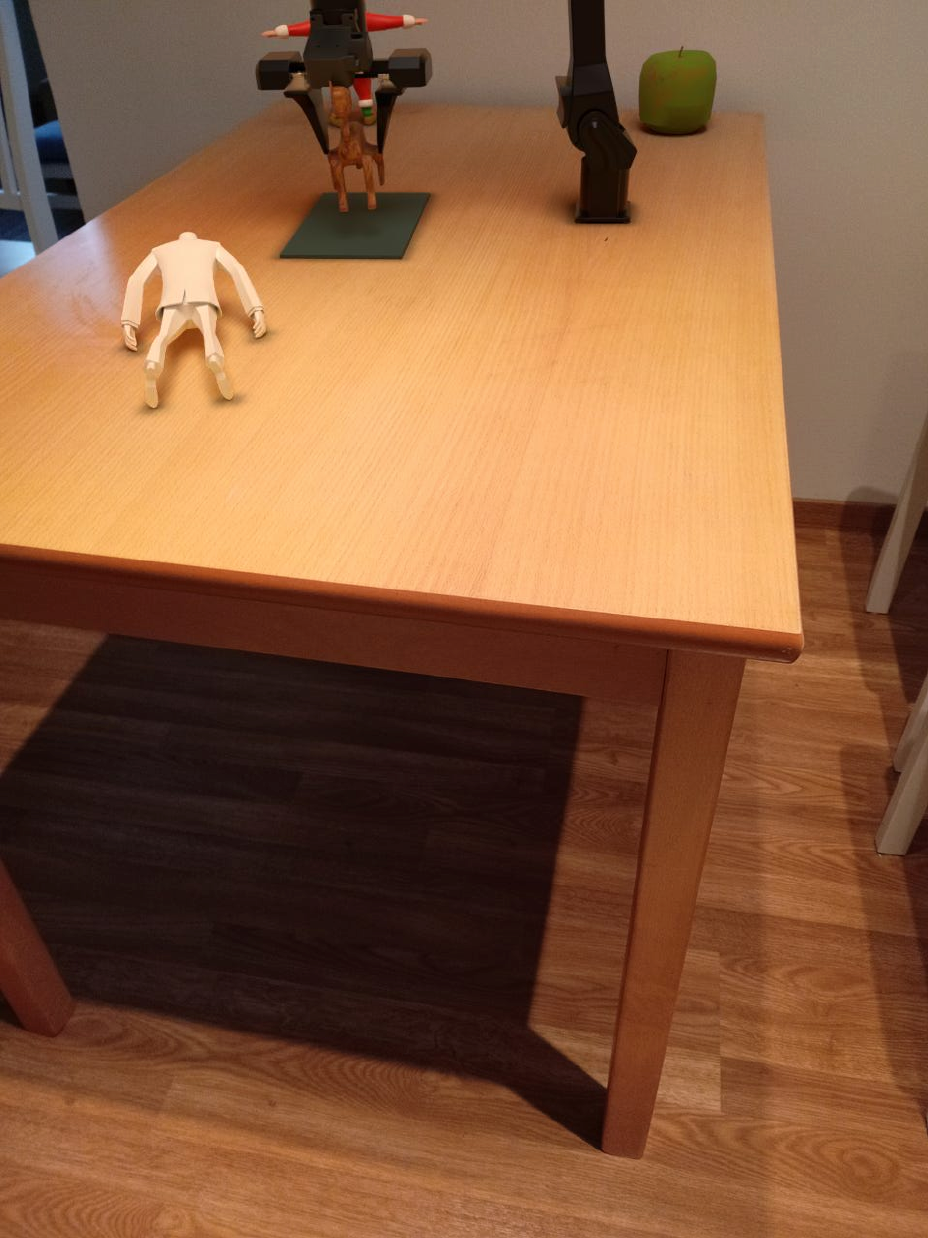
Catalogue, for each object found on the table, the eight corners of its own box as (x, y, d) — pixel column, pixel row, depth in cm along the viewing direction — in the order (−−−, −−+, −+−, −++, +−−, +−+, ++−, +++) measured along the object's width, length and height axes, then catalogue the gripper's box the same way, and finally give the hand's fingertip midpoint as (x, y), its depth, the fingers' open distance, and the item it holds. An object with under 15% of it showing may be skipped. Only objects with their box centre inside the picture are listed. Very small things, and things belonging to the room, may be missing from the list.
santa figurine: (429, 111, 158) (422, -27, 146) (436, 120, 154) (429, -21, 141) (273, 127, 154) (253, -14, 142) (277, 136, 150) (255, -8, 138)
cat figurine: (335, 172, 123) (316, 48, 114) (387, 167, 123) (372, 43, 114) (328, 220, 109) (306, 83, 100) (387, 214, 109) (370, 77, 100)
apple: (689, 115, 150) (698, 34, 143) (725, 132, 143) (735, 47, 136) (623, 124, 148) (628, 42, 141) (655, 142, 140) (662, 56, 133)
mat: (402, 258, 109) (401, 255, 109) (279, 257, 111) (279, 254, 110) (430, 195, 126) (430, 192, 125) (323, 195, 127) (323, 192, 127)
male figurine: (274, 413, 87) (263, 269, 103) (263, 353, 82) (253, 212, 98) (117, 431, 85) (131, 282, 101) (96, 371, 81) (114, 224, 97)
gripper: (227, 10, 98) (255, 175, 108) (412, 5, 96) (423, 173, 106) (258, -9, 106) (281, 146, 116) (428, -14, 104) (437, 144, 114)
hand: (353, 153), depth 113 cm, fingers closed on cat figurine, 6 cm apart
